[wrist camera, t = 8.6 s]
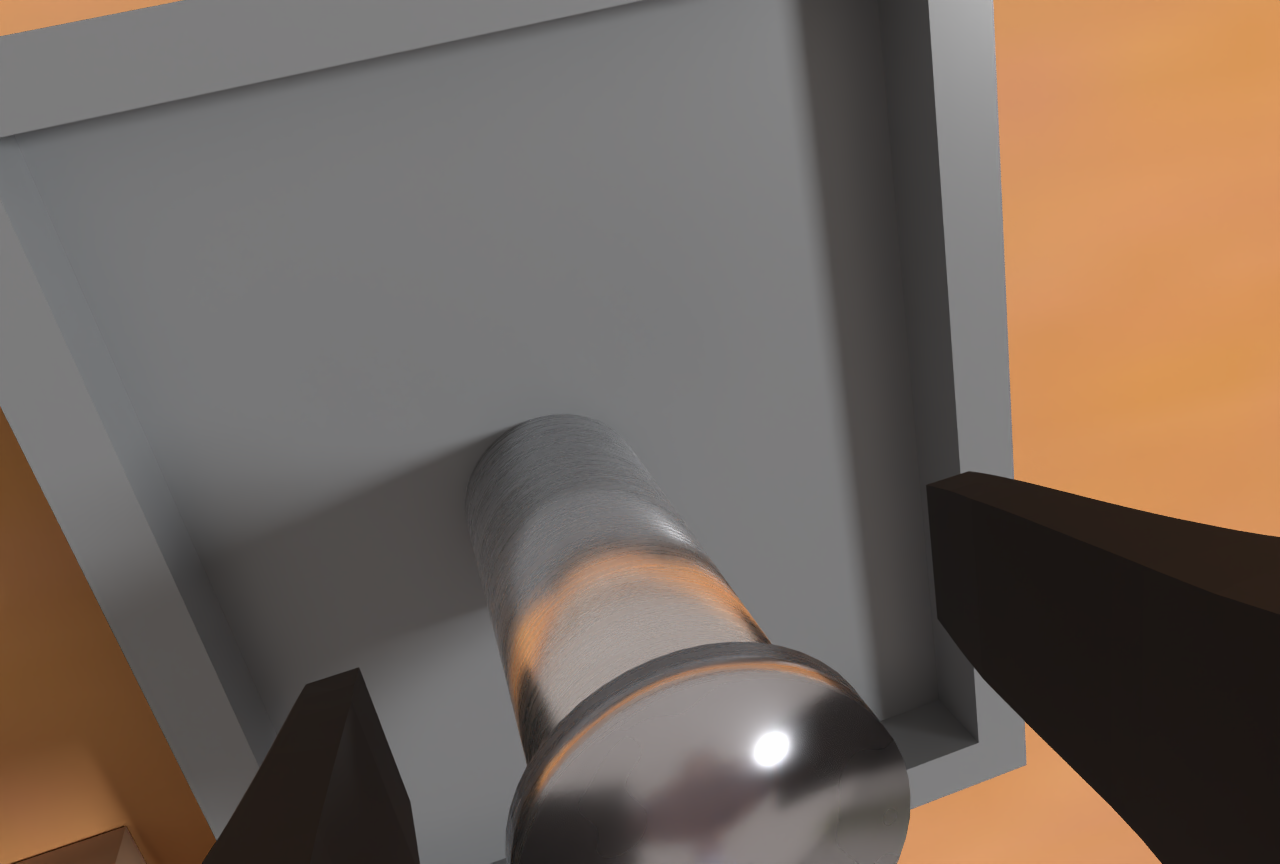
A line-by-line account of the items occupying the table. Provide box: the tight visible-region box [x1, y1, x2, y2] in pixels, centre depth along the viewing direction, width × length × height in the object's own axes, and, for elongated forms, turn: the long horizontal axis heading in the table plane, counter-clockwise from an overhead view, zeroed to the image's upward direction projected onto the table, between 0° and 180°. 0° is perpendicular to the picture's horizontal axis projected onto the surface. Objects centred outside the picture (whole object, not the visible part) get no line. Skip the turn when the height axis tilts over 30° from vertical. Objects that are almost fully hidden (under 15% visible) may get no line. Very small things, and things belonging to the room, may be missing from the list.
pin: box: [465, 414, 911, 864], centre depth 13 cm, size 4×4×8 cm
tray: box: [0, 0, 1026, 864], centre depth 16 cm, size 16×14×2 cm
